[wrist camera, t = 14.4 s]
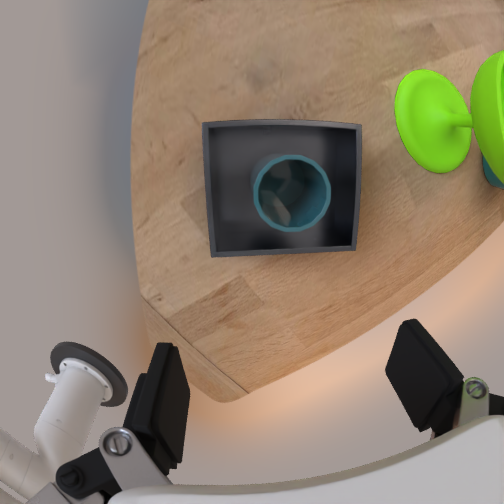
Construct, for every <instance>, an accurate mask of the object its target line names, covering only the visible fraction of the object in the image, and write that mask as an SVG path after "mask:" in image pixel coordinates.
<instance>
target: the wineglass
mask: <svg viewBox="0 0 504 504" xmlns="http://www.w3.org/2000/svg"><path fill="white" fill-rule="evenodd" d="M470 101H471V109H470V110H471V113H469V112H468V109H467V106H466V104H465V102H464V100H463V98H462V96H461V94H460V93H459V91H458V90H457V89H456V87H455V86H454V85H453V84H452V83H451V82H450V81H449V80H448V79H447V78H445V77H444V76H442V75H440V74H438V73H437V72H435V71H431V70H426V69H420V70H414V71H412V72H411V73H409V74H407V75H406V76H405V77H404V78H403V80H402V81H401V83H400V84H399V86H398V90H397V93H396V96H395V117H396V124H397V128H398V131H399V134H400V137H401V140H402V142H403V144H404V145H405V147H406V149H407V151H408V153H409V154H410V155H411V156H412V157H413V159H414V160H415V161H416V162H417V163H418V164H419V165H421V166H422V167H423V168H425V169H426V170H428V171H432V172H435V173H447V172H449V171H451V170H454V169H456V168H457V167H458V166H459V165H460V164H461V163H462V162H463V160H464V159H465V157H466V155H467V153H468V150H469V147H470V143H471V133H472V129H471V128H474V132H475V136H476V139H477V142H478V145H479V147H480V150H481V152H482V154H483V155H484V157H485V159H486V161H487V162H488V164H489V166H490V168H491V169H492V171H493V173H494V174H495V175H496V176H497V177H498V178H499V180H500V181H501V182H502V183H503V184H504V50H503V51H500V52H497V53H495V54H493V55H492V56H491V57H489V58H488V59H487V60H486V61H485V62H484V63H483V64H482V65H481V66H480V68H479V70H478V72H477V74H476V77H475V80H474V83H473V86H472V91H471V97H470Z"/></svg>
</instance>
